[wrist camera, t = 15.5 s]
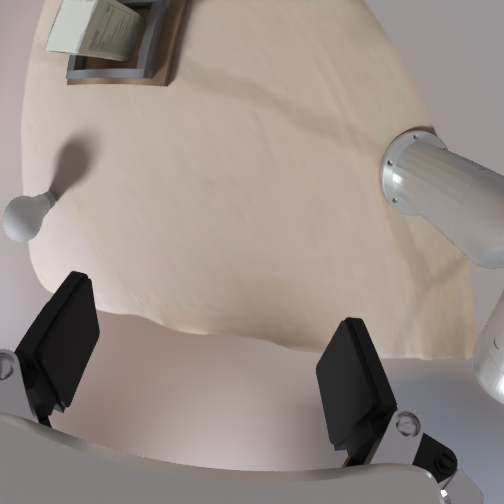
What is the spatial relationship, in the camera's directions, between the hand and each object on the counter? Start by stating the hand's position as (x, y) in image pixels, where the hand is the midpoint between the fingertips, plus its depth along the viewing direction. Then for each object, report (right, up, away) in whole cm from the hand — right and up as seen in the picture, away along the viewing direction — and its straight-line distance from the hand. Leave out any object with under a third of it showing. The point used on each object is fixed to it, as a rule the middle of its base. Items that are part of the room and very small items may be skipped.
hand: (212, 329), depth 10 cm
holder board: (-14, +31, +14) cm, 37 cm away
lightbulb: (-29, +11, +26) cm, 40 cm away
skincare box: (-14, +28, +15) cm, 35 cm away
